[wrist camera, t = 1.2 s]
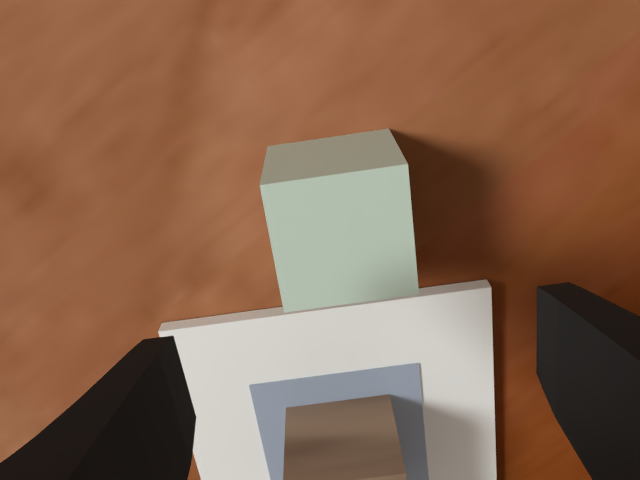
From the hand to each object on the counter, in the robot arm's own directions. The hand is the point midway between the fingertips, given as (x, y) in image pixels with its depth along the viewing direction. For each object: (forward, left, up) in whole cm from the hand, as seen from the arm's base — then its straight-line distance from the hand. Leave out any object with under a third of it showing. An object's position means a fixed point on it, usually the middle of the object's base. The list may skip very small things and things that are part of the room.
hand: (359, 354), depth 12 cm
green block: (0, 0, -10) cm, 10 cm away
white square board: (-10, +1, -9) cm, 14 cm away
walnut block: (-10, +1, -9) cm, 13 cm away
